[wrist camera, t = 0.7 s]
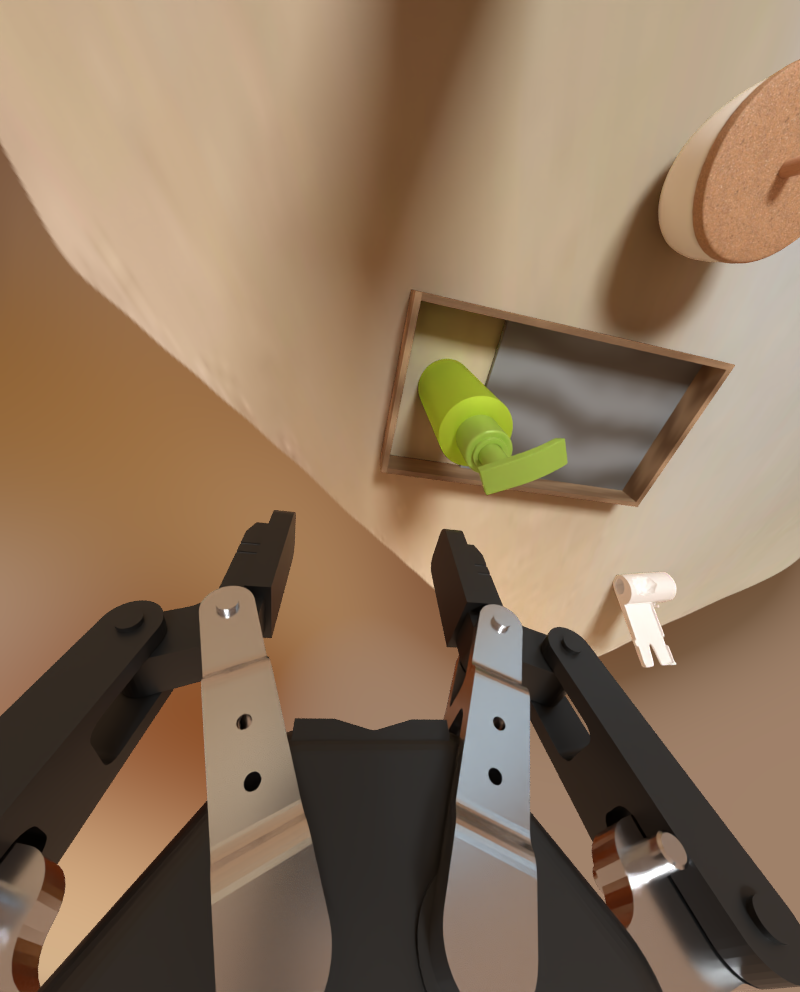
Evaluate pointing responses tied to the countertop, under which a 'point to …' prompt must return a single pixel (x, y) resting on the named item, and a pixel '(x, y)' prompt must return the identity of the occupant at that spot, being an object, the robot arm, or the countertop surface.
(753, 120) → the lidded jar
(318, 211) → the countertop surface
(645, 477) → the wooden tray
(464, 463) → the soap dispenser
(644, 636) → the plastic part
